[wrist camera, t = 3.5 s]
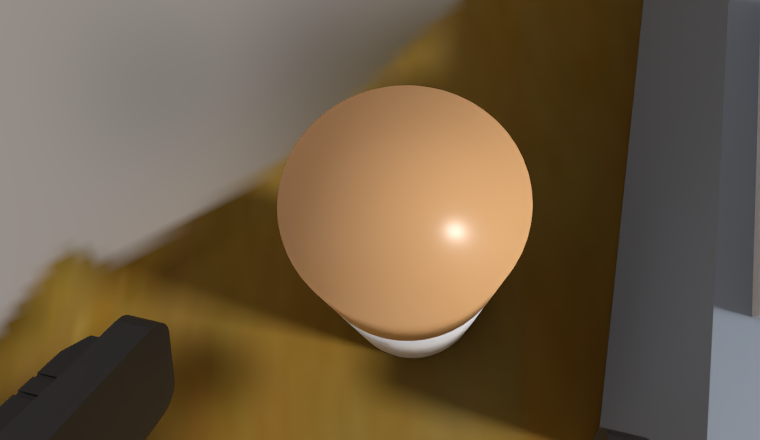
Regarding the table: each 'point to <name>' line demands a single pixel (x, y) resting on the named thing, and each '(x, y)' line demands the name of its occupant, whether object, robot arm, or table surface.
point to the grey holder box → (690, 230)
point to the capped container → (405, 214)
